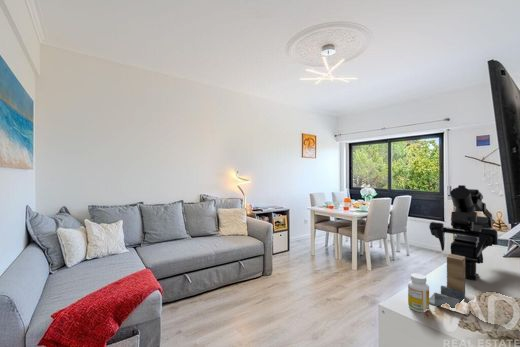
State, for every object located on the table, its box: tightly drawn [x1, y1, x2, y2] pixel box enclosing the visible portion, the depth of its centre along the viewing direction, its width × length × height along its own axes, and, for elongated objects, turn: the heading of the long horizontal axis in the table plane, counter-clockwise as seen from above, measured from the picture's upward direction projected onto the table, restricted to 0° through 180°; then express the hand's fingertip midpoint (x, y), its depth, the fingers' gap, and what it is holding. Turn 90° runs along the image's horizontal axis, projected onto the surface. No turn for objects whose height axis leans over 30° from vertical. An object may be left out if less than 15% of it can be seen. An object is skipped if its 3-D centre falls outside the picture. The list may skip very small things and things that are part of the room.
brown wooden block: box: [446, 253, 466, 293], centre depth 82 cm, size 4×4×13 cm
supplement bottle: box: [407, 272, 430, 313], centre depth 76 cm, size 5×5×10 cm
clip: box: [429, 285, 466, 308], centre depth 78 cm, size 8×10×4 cm
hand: (458, 253), depth 87 cm, fingers open, 9 cm apart
